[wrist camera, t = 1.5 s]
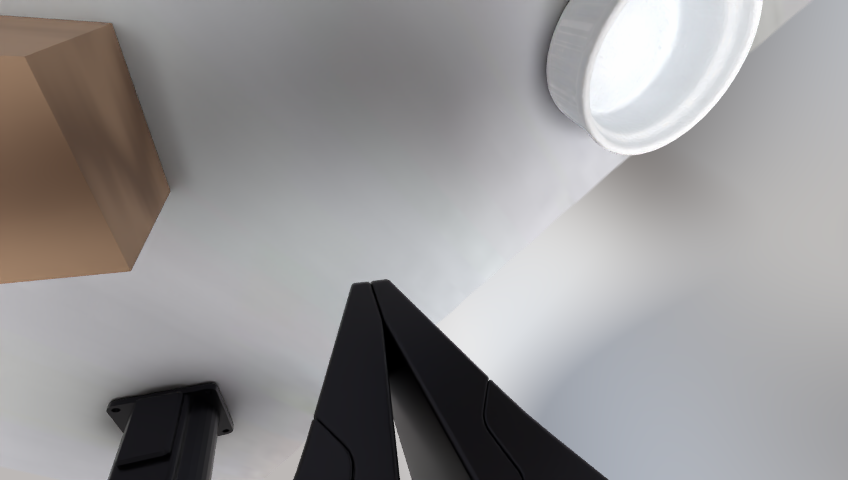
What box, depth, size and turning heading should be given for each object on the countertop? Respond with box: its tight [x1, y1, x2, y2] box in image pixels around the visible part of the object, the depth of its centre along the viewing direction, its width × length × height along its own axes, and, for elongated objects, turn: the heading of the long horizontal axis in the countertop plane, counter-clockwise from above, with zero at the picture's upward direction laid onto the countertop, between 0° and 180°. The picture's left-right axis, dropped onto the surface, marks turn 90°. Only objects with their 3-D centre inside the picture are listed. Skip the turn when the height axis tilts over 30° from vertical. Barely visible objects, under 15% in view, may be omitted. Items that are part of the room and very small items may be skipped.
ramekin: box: [547, 0, 763, 155], centre depth 18 cm, size 9×9×4 cm
